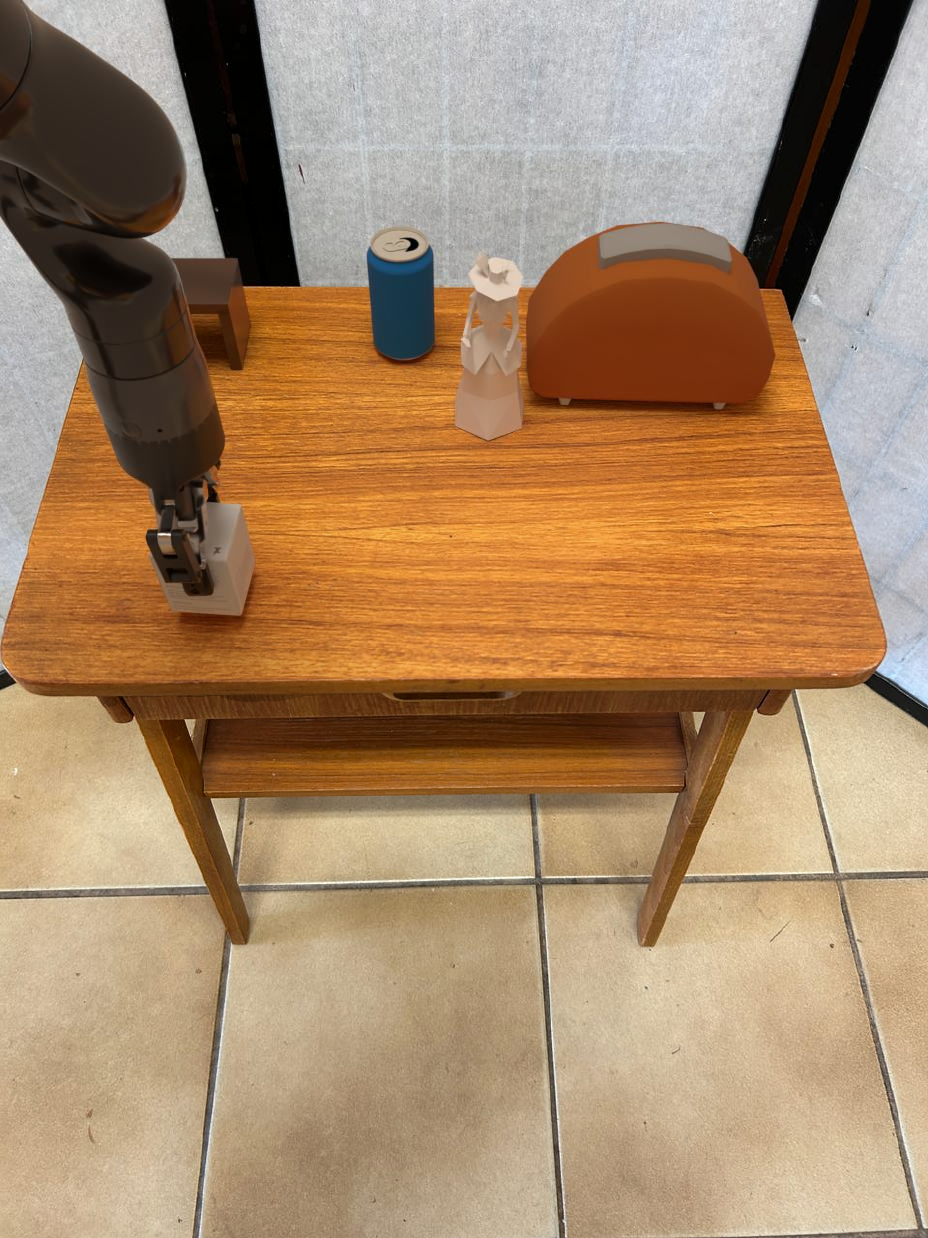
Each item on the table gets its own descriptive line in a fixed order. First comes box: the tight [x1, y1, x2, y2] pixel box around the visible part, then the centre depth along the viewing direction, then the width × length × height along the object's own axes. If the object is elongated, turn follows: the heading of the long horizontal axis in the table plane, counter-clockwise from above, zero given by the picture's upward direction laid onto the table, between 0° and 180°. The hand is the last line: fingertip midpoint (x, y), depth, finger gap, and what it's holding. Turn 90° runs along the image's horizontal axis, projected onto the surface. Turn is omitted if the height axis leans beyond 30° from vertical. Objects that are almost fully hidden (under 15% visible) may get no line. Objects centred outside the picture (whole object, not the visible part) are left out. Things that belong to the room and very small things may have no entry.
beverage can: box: [366, 225, 436, 361], centre depth 96 cm, size 6×6×12 cm
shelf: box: [170, 257, 252, 371], centre depth 97 cm, size 8×11×8 cm
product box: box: [148, 502, 257, 617], centre depth 77 cm, size 6×6×7 cm
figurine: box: [454, 251, 525, 442], centre depth 87 cm, size 7×8×18 cm
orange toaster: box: [525, 221, 776, 410], centre depth 91 cm, size 23×9×17 cm, turn 88°
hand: (206, 557), depth 77 cm, fingers closed on product box, 6 cm apart
